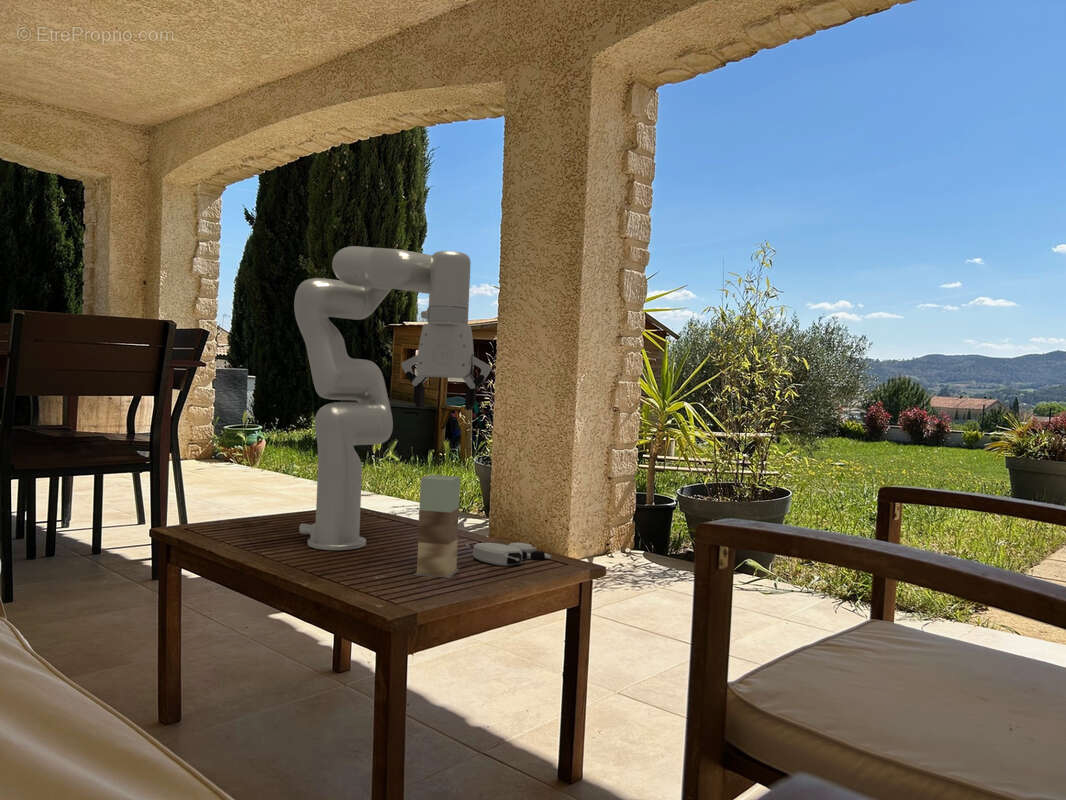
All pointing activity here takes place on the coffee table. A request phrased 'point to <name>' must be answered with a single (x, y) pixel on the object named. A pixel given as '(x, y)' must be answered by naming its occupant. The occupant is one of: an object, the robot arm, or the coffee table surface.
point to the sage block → (439, 493)
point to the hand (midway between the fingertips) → (444, 408)
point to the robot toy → (506, 553)
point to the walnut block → (438, 527)
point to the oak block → (437, 559)
